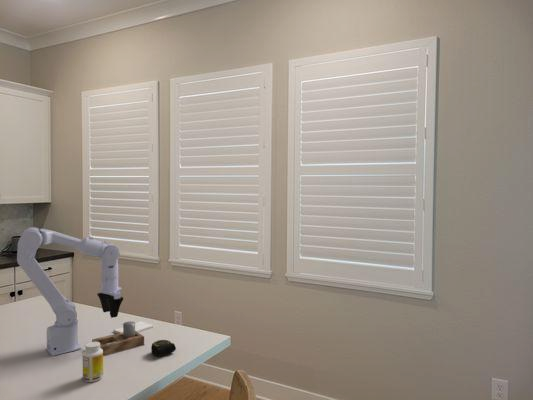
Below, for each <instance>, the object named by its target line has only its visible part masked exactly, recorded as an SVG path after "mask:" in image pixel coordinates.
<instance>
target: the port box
mask: <svg viewBox="0 0 533 400" xmlns="http://www.w3.org/2000/svg"><path fill="white" fill-rule="evenodd" d="M91 339H92V338H91ZM91 342H99V343H100V348H101V349H102V350H103V357H104V356H107V355H112V354H115V353H119V352H122V351H126V350H130V349H134V348H137V347H142V346H144V345H145V336H144V335H143V334H141V332H139V333H138V332H137V331H135V337H131V338H128V339H123V332H122V333H113V334H110V335H105V336H101V337H100V336H99V337H96V338H93V339H92V340H91Z"/></svg>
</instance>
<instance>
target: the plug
mask: <svg viewBox="0 0 533 400" xmlns="http://www.w3.org/2000/svg"><path fill="white" fill-rule="evenodd" d="M135 323H136V322H135V321H125V322H123V324H122V327H123V339H128V338H131V337H135Z"/></svg>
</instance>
